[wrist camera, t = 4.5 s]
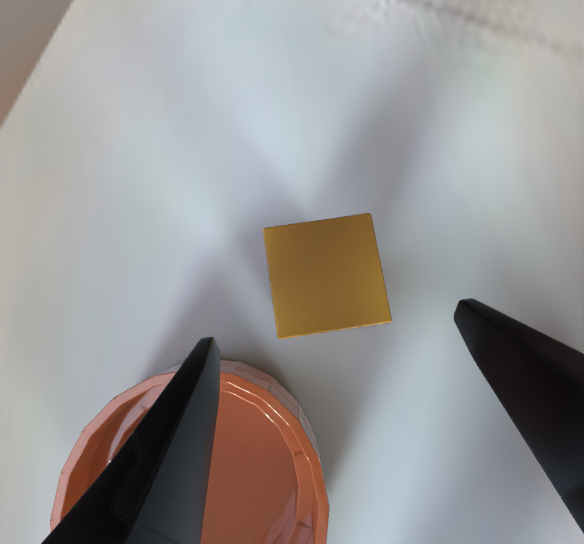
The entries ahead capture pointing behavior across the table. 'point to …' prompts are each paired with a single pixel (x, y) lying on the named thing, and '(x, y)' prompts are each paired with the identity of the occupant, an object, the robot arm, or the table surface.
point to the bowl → (225, 460)
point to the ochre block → (325, 276)
